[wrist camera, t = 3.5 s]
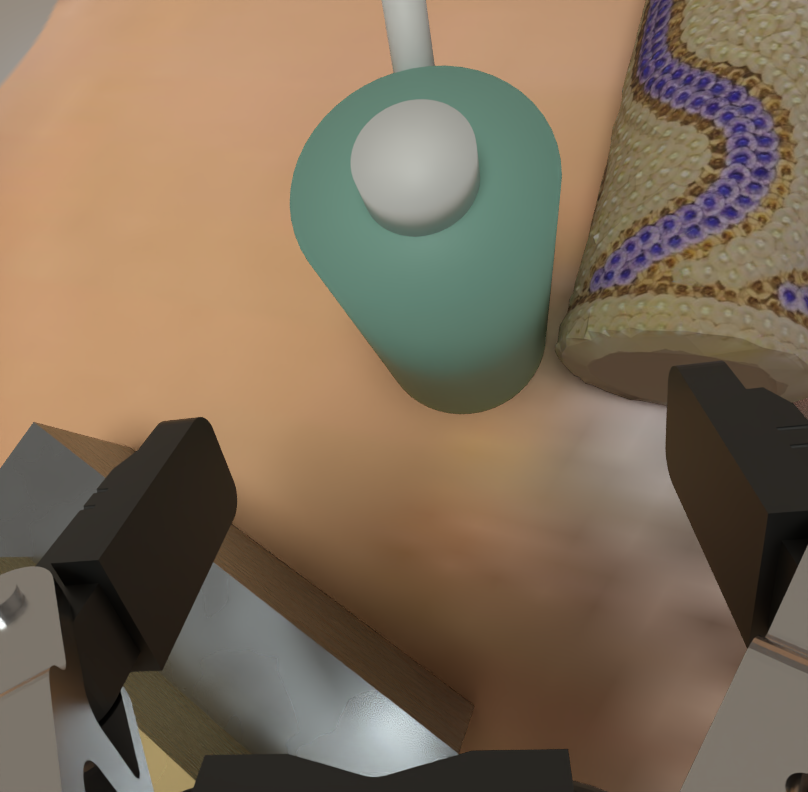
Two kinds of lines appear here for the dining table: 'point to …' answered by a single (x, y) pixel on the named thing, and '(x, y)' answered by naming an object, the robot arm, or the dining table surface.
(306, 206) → the oil can
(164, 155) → the dining table surface
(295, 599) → the grey metal block
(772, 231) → the decorative bottle
